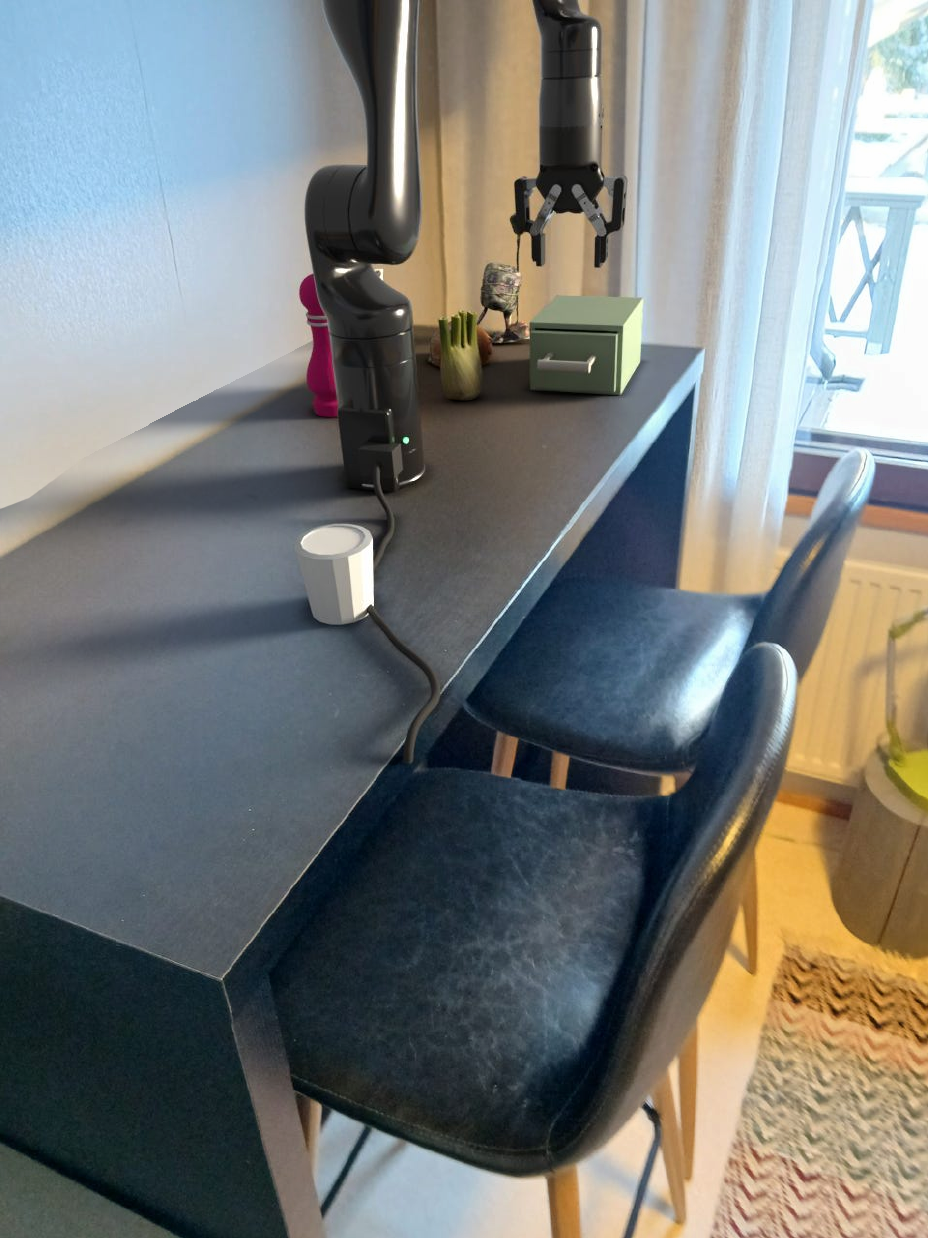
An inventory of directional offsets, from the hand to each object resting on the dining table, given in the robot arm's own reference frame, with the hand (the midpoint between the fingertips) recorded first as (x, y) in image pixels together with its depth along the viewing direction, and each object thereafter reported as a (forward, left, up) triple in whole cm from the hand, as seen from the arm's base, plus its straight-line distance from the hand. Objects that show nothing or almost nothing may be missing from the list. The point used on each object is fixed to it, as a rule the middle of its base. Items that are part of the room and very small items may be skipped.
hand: (569, 265), depth 120 cm
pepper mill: (-10, +31, -18) cm, 37 cm away
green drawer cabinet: (+11, 0, -18) cm, 21 cm away
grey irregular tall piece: (+28, +17, -18) cm, 38 cm away
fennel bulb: (-2, +15, -18) cm, 24 cm away
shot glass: (-59, +7, -18) cm, 62 cm away
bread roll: (+15, +21, -18) cm, 32 cm away
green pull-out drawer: (+6, 0, -17) cm, 18 cm away
